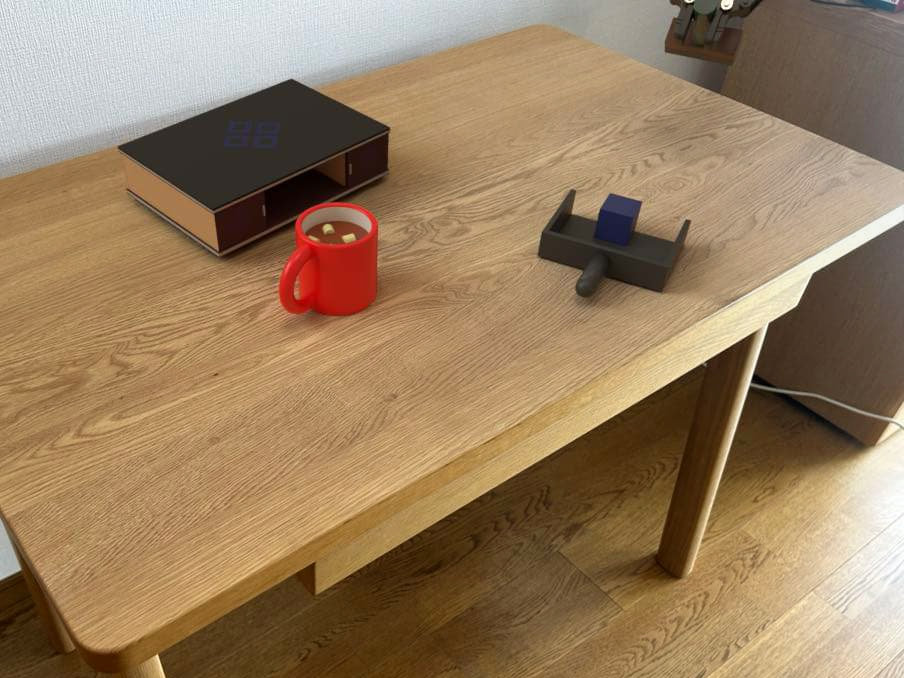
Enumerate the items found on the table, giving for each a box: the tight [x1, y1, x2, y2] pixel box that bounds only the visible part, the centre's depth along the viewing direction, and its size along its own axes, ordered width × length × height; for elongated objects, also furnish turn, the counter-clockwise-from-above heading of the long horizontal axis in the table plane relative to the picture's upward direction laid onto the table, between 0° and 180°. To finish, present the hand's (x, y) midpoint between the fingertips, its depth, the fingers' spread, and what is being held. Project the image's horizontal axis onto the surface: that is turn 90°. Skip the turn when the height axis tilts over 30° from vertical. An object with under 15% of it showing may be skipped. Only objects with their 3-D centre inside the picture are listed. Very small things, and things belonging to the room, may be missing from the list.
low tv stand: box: [117, 78, 392, 259], centre depth 99 cm, size 17×25×7 cm
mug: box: [278, 201, 379, 316], centre depth 84 cm, size 8×12×8 cm, turn 144°
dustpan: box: [537, 188, 692, 299], centre depth 90 cm, size 16×13×3 cm
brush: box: [664, 0, 744, 67], centre depth 98 cm, size 8×3×11 cm
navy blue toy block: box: [594, 192, 643, 246], centre depth 94 cm, size 4×4×4 cm
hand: (693, 44), depth 95 cm, fingers closed on brush, 2 cm apart
